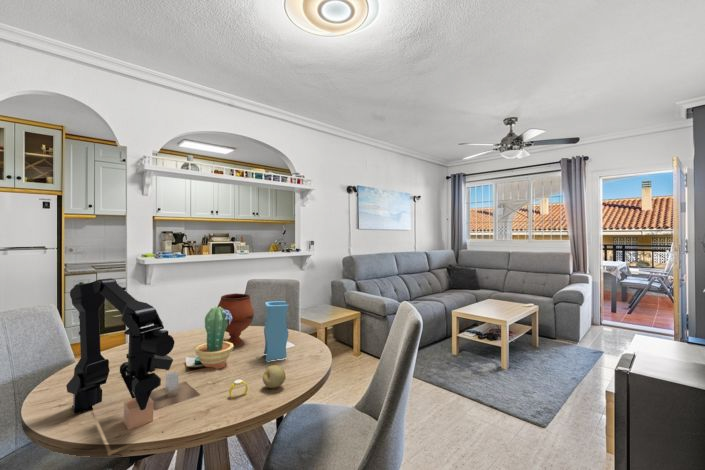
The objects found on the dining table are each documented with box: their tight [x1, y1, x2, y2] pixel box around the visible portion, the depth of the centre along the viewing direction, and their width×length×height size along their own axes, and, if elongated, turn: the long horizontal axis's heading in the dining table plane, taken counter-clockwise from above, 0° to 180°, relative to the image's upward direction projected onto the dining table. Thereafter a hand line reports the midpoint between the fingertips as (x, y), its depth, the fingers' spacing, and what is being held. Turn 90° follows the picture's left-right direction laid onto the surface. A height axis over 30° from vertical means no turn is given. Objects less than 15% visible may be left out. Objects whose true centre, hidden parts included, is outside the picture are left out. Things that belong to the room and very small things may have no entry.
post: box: [164, 371, 179, 398], centre depth 108 cm, size 3×3×7 cm
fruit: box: [262, 365, 287, 389], centre depth 117 cm, size 8×8×8 cm
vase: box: [263, 300, 290, 361], centre depth 147 cm, size 10×10×25 cm
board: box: [150, 381, 201, 412], centre depth 108 cm, size 14×14×1 cm
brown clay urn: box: [216, 292, 255, 348], centre depth 164 cm, size 19×19×25 cm
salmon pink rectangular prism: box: [123, 397, 154, 431], centre depth 93 cm, size 6×6×7 cm
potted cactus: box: [195, 306, 234, 370], centre depth 136 cm, size 15×15×25 cm
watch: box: [228, 379, 249, 399], centre depth 109 cm, size 6×3×6 cm, turn 124°
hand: (138, 403), depth 93 cm, fingers open, 9 cm apart
